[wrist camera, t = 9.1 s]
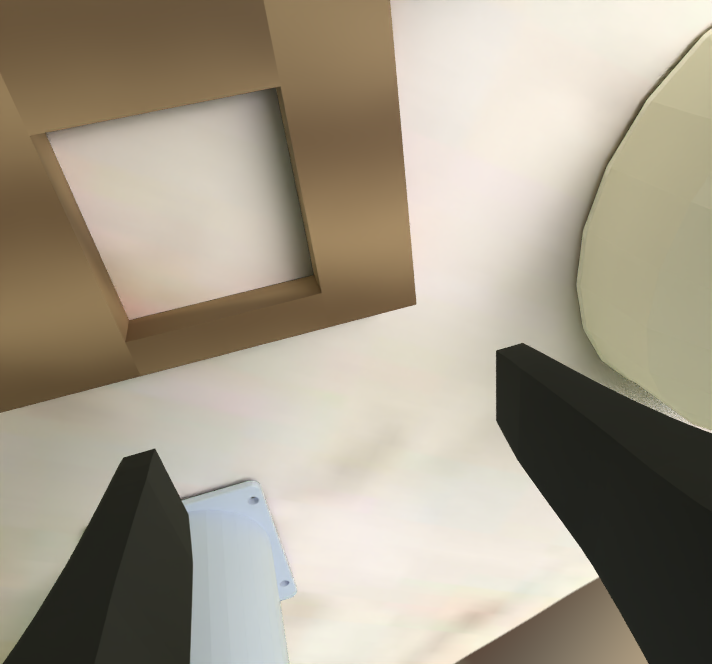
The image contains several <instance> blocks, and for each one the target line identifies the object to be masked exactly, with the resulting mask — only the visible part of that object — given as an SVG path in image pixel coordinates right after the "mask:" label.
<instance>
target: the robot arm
mask: <svg viewBox="0 0 712 664" xmlns="http://www.w3.org/2000/svg"><path fill="white" fill-rule="evenodd" d="M496 421H497V423H498V425H499V427H500V429H501V430H502V432H503V434H504V436H505V438H506V440H507V442H508V444H509V445H510V447H511V449H512V451H513V453H514V454H515V456H516V458H517V460H518V461H519V463H520V464H521V466H522V467H523V468H524V470H525V471H526V473H527V474H528V475H529V477H530V478H531V480H532V481H533V482H534V484H535V485H536V487H537V488H538V489H539V491H540V492H541V494H542V495H543V496H544V498H545V499H546V500H547V502H548V503H549V505H550V506H551V507H552V509H553V510H554V511H555V513H556V514H557V516H558V517H559V518H560V520H561V521H562V522H563V524H564V525H565V527H566V528H567V529H568V531H569V532H570V533H571V535H572V536H573V538H574V539H575V540H576V542H577V543H578V544H579V546H580V547H581V549H582V550H583V552H584V553H585V555H586V556H587V558H588V559H589V561H590V562H591V564H592V565H593V567H594V569H595V570H596V572H597V574H598V575H599V577H600V578H601V581H602V582H603V584H604V586H605V587H606V589H607V590H608V592H609V594H610V596H611V598H612V599H613V601H614V603H615V604H616V606H617V608H618V609H619V611H620V613H621V614H622V617H623V618H624V620H625V622H626V624H627V625H628V627H629V629H630V631H631V633H632V634H633V636H634V638H635V640H636V642H637V643H638V645H639V646H640V649H641V651H642V652H643V654H644V656H645V658H646V660H647V661H648V663H649V664H712V433H709V432H706V431H704V430H701V429H699V428H696V427H693V426H691V425H688V424H686V423H683V422H681V421H678V420H676V419H674V418H671V417H669V416H667V415H664V414H662V413H660V412H658V411H655V410H653V409H651V408H649V407H647V406H644V405H642V404H640V403H638V402H636V401H633V400H631V399H629V398H627V397H625V396H623V395H621V394H619V393H617V392H615V391H613V390H611V389H609V388H607V387H605V386H603V385H601V384H599V383H597V382H595V381H593V380H591V379H590V378H588V377H586V376H584V375H582V374H580V373H578V372H576V371H574V370H573V369H571V368H569V367H567V366H565V365H563V364H561V363H560V362H558V361H556V360H554V359H552V358H550V357H549V356H547V355H545V354H543V353H541V352H539V351H537V350H535V349H534V348H532V347H530V346H528V345H526V344H524V343H521V344H518V345H514V346H511V347H507V348H504V349H500V350H497V351H496ZM251 497H255V498H251ZM296 593H297V588H296V584H295V581H294V578H293V575H292V572H291V569H290V567H289V564H288V561H287V558H286V555H285V553H284V550H283V547H282V544H281V541H280V539H279V536H278V533H277V530H276V527H275V524H274V522H273V519H272V516H271V513H270V510H269V508H268V505H267V502H266V499H265V496H264V494H263V491H262V488H261V485H260V484H259V483H258V482H256V481H246V482H243V483H240V484H236V485H233V486H229V487H226V488H223V489H219V490H216V491H212V492H209V493H206V494H202V495H199V496H195V497H192V498H188V499H185V500H181V499H180V497H179V495H178V493H177V491H176V489H175V487H174V485H173V483H172V481H171V479H170V477H169V475H168V473H167V471H166V469H165V467H164V465H163V463H162V461H161V459H160V457H159V455H158V453H157V452H156V450H155V449H152V450H148V451H145V452H141V453H138V454H135V455H131V456H128V457H124V458H123V459H122V461H121V463H120V464H119V466H118V468H117V470H116V472H115V474H114V476H113V478H112V480H111V482H110V484H109V486H108V488H107V490H106V492H105V494H104V496H103V498H102V499H101V501H100V503H99V505H98V507H97V509H96V511H95V513H94V515H93V517H92V519H91V521H90V523H89V524H88V526H87V528H86V530H85V532H84V534H83V535H82V537H81V539H80V541H79V543H78V544H77V546H76V548H75V550H74V552H73V554H72V555H71V557H70V559H69V561H68V562H67V564H66V566H65V568H64V569H63V571H62V573H61V574H60V576H59V578H58V579H57V581H56V583H55V584H54V586H53V587H52V589H51V591H50V592H49V594H48V596H47V597H46V599H45V601H44V602H43V604H42V606H41V607H40V609H39V611H38V612H37V614H36V615H35V617H34V618H33V620H32V621H31V623H30V624H29V626H28V627H27V629H26V631H25V632H24V634H23V635H22V637H21V638H20V639H19V641H18V642H17V644H16V645H15V647H14V648H13V650H12V651H11V653H10V654H9V655H8V657H7V658H6V660H5V661H4V663H3V664H290V663H289V657H288V650H287V643H286V637H285V630H284V623H283V617H282V610H281V604H280V601H282V600H285V599H288V598H291V597H293V596H294V595H295V594H296Z"/></svg>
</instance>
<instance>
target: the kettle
mask: <svg viewBox="0 0 712 664" xmlns="http://www.w3.org/2000/svg"><path fill="white" fill-rule="evenodd" d="M576 287H577V293H578V300H579V306H580V312H581V319H582V325H583V329H584V331H585V333H586V335H587V336H588V338H589V340H590V342H591V343H592V345H593V347H594V348H595V350H596V352H597V354H598V355H599V357H600V359H601V361H603V362H604V363H606V364H607V365H608V366H610V367H611V368H612V369H614V370H615V371H617V372H618V373H619V374H621V375H622V376H623V377H625V378H626V379H628V380H630V381H634V382H635V383H637V384H638V385H639V386H641V387H642V388H643V389H645V390H646V391H648V392H649V393H650V394H652V395H653V396H654V397H656V398H657V399H659V400H660V401H661V402H663V403H664V404H665V405H667V406H668V407H670V408H671V409H672V410H674V411H675V412H676V413H678V414H679V415H681V416H682V417H683V418H685V419H686V420H687V421H689V422H690V423H692V424H695V425H697V426H700V427H703V428H706V429H709V430H712V28H711V29H710V30H709V31H708V32H706V33H705V34H704V35H703V36H702V37H701V38H700V39H699V40H698V42H697V43H696V44H695V45H694V46H693V47H692V48H691V50H690V51H689V52H688V53H687V54H686V55H685V57H684V58H683V59H682V60H681V61H680V62H679V63H678V65H677V66H676V67H675V68H674V69H673V70H672V71H671V73H670V74H669V75H668V76H667V77H666V78H665V79H664V81H663V82H662V83H661V84H660V85H659V86H658V88H657V89H656V90H655V91H654V92H653V93H652V94H651V96H650V97H649V98H648V99H647V101H646V102H645V104H644V106H643V107H642V109H641V111H640V112H639V114H638V116H637V117H636V119H635V121H634V122H633V124H632V126H631V127H630V129H629V131H628V132H627V134H626V136H625V137H624V139H623V141H622V142H621V144H620V145H619V147H618V149H617V150H616V152H615V154H614V155H613V157H612V159H611V160H610V162H609V164H608V165H607V168H606V170H605V173H604V176H603V178H602V181H601V184H600V186H599V189H598V192H597V195H596V197H595V200H594V203H593V205H592V208H591V211H590V214H589V216H588V219H587V222H586V224H585V227H584V230H583V237H582V244H581V252H580V260H579V267H578V275H577V283H576Z"/></svg>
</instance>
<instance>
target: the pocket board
mask: <svg viewBox="0 0 712 664" xmlns="http://www.w3.org/2000/svg"><path fill="white" fill-rule="evenodd" d="M275 87H276V91H277V96H278V101H279V106H280V111H281V116H282V121H283V126H284V130H285V135H286V140H287V145H288V150H289V155H290V160H291V165H292V170H293V174H294V179H295V184H296V189H297V194H298V199H299V204H300V209H301V214H302V218H303V223H304V228H305V233H306V238H307V243H308V248H309V253H310V258H311V262H312V267H313V272H314V275H312V276H308V277H304V278H300V279H296V280H292V281H288V282H284V283H279V284H275V285H271V286H267V287H263V288H259V289H255V290H251V291H247V292H243V293H239V294H235V295H231V296H227V297H223V298H219V299H214V300H210V301H206V302H202V303H198V304H194V305H190V306H186V307H182V308H178V309H174V310H170V311H166V312H162V313H158V314H154V315H149V316H145V317H141V318H137V319H133V320H129V319H128V317H127V315H126V313H125V310H124V308H123V306H122V304H121V301H120V299H119V297H118V295H117V293H116V290H115V288H114V286H113V284H112V281H111V279H110V277H109V275H108V272H107V270H106V268H105V266H104V263H103V261H102V259H101V257H100V254H99V252H98V250H97V248H96V246H95V243H94V241H93V239H92V237H91V234H90V232H89V230H88V228H87V225H86V223H85V221H84V219H83V216H82V214H81V212H80V210H79V207H78V205H77V203H76V201H75V198H74V196H73V194H72V192H71V190H70V187H69V185H68V183H67V181H66V178H65V176H64V174H63V172H62V169H61V167H60V165H59V163H58V160H57V158H56V156H55V154H54V151H53V149H52V147H51V145H50V142H49V140H48V138H47V136H46V134H45V133H46V132H51V131H56V130H61V129H66V128H72V127H77V126H82V125H87V124H92V123H97V122H102V121H107V120H112V119H117V118H122V117H127V116H133V115H138V114H143V113H148V112H153V111H158V110H163V109H168V108H173V107H178V106H183V105H188V104H194V103H199V102H204V101H209V100H214V99H219V98H224V97H229V96H234V95H239V94H244V93H249V92H255V91H260V90H265V89H270V88H275ZM412 305H416V294H415V283H414V271H413V260H412V248H411V237H410V225H409V214H408V202H407V191H406V179H405V168H404V156H403V145H402V133H401V122H400V110H399V99H398V87H397V76H396V64H395V53H394V41H393V30H392V18H391V7H390V0H0V413H1V412H5V411H9V410H13V409H16V408H20V407H24V406H28V405H32V404H36V403H39V402H43V401H47V400H51V399H55V398H59V397H63V396H66V395H70V394H74V393H78V392H82V391H86V390H89V389H93V388H97V387H101V386H105V385H109V384H112V383H116V382H120V381H124V380H128V379H132V378H135V377H139V376H143V375H147V374H151V373H155V372H159V371H162V370H166V369H170V368H174V367H178V366H182V365H185V364H189V363H193V362H197V361H201V360H205V359H208V358H212V357H216V356H220V355H224V354H228V353H231V352H235V351H239V350H243V349H247V348H251V347H255V346H258V345H262V344H266V343H270V342H274V341H278V340H281V339H285V338H289V337H293V336H297V335H301V334H304V333H308V332H312V331H316V330H320V329H324V328H327V327H331V326H335V325H339V324H343V323H347V322H351V321H354V320H358V319H362V318H366V317H370V316H374V315H377V314H381V313H385V312H389V311H393V310H397V309H400V308H404V307H408V306H412Z"/></svg>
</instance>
